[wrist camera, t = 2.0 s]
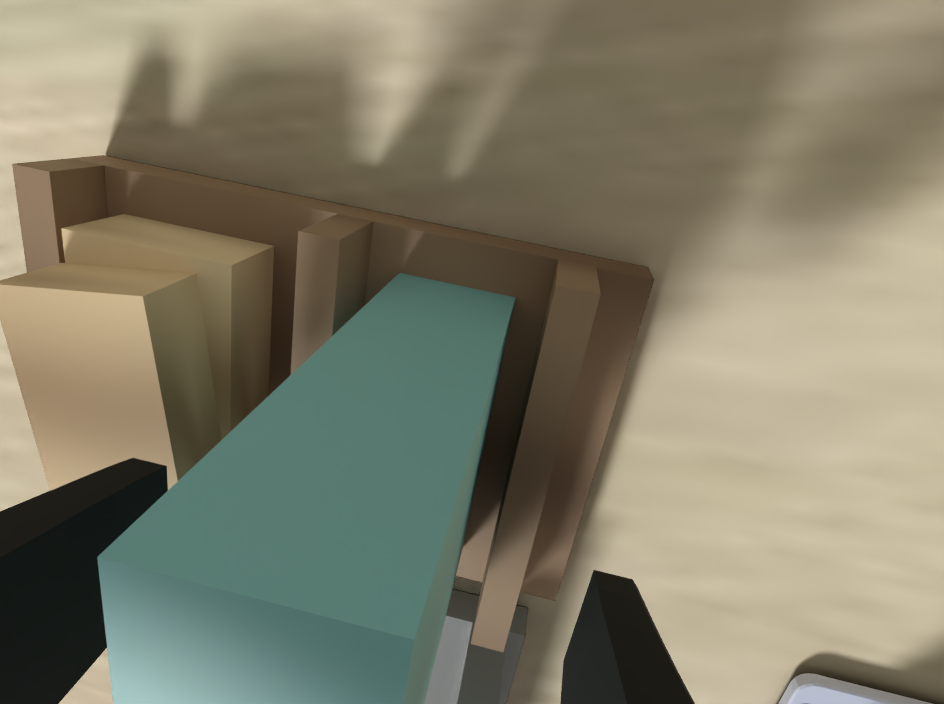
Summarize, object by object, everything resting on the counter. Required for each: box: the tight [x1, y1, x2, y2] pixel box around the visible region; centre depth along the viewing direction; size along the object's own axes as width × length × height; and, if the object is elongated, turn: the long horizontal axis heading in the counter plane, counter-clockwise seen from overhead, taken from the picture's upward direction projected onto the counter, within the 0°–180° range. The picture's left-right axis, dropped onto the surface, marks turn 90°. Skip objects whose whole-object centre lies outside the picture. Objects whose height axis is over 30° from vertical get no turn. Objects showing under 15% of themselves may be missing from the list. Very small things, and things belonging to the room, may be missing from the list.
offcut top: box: [0, 263, 222, 491], centre depth 12 cm, size 6×3×2 cm, turn 178°
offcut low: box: [61, 214, 274, 439], centre depth 14 cm, size 7×4×2 cm, turn 170°
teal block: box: [97, 273, 516, 704], centre depth 10 cm, size 7×3×9 cm, turn 170°
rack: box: [12, 155, 654, 652], centre depth 14 cm, size 9×13×3 cm
